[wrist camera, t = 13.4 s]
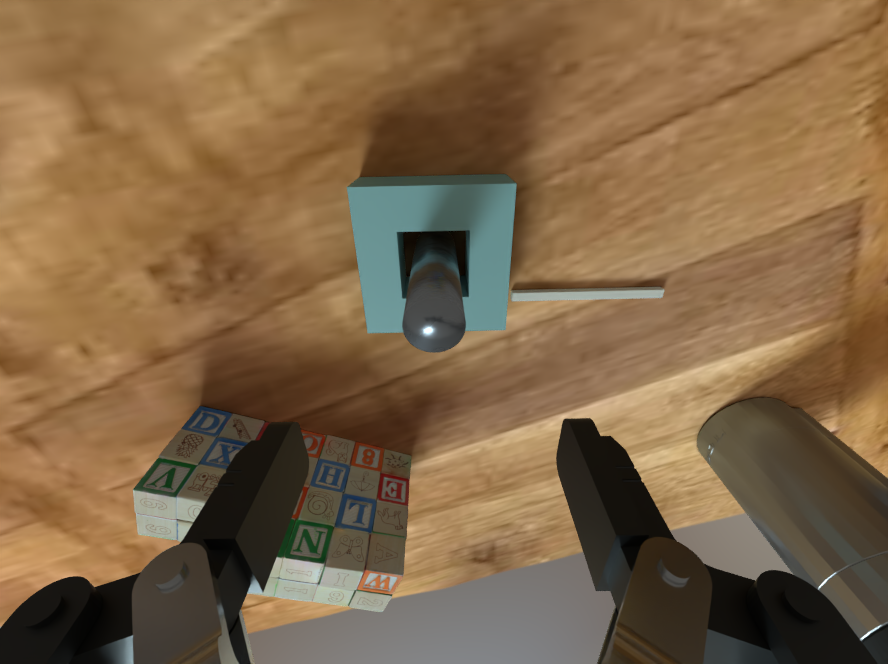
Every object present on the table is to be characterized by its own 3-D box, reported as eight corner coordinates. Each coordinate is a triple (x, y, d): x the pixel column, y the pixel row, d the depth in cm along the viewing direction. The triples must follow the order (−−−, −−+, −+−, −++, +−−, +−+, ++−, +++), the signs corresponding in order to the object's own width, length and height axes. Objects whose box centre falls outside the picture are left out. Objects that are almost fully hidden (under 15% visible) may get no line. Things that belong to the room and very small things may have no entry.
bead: (505, 173, 25) (516, 183, 22) (497, 305, 30) (505, 329, 27) (359, 177, 25) (347, 187, 22) (375, 308, 30) (367, 333, 27)
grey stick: (660, 286, 30) (664, 289, 29) (658, 294, 30) (662, 297, 30) (511, 290, 30) (512, 293, 29) (510, 298, 30) (511, 301, 30)
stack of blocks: (198, 446, 38) (106, 574, 28) (200, 403, 35) (98, 527, 25) (397, 490, 42) (383, 616, 32) (413, 454, 39) (404, 579, 29)
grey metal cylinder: (455, 226, 27) (466, 296, 17) (455, 265, 29) (465, 351, 18) (414, 227, 27) (399, 298, 17) (416, 266, 29) (404, 353, 18)
